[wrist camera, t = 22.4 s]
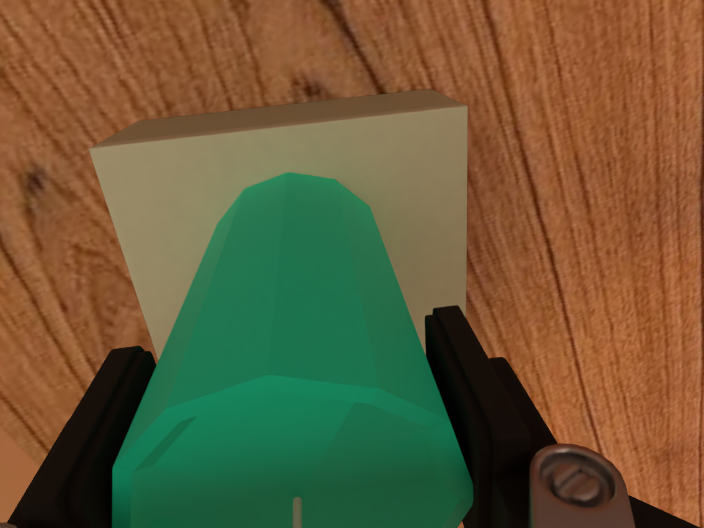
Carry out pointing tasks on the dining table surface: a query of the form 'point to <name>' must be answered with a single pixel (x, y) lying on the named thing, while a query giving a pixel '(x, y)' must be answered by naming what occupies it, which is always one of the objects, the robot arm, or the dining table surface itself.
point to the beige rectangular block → (303, 158)
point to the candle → (292, 383)
